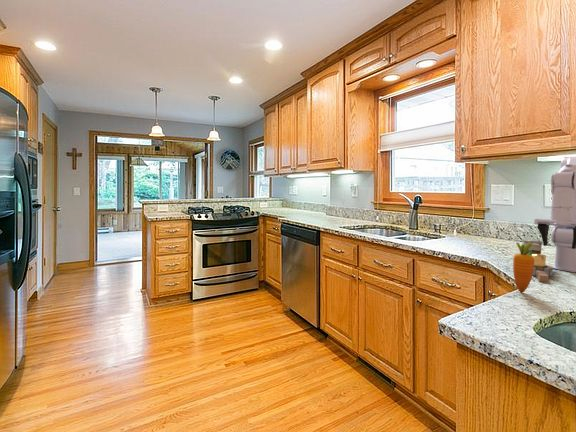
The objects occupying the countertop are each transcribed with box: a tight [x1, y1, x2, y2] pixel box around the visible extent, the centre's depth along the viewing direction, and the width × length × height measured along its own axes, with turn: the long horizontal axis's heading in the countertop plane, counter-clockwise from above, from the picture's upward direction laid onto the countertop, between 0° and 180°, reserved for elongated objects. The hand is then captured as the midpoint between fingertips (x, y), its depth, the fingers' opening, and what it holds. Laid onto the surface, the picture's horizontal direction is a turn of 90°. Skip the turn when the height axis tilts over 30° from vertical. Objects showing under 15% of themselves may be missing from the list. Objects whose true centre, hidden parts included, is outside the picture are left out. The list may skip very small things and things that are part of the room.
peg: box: [532, 253, 547, 268], centre depth 116 cm, size 4×4×7 cm
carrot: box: [512, 242, 534, 294], centre depth 95 cm, size 5×5×15 cm
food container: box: [521, 240, 543, 256], centre depth 125 cm, size 12×6×10 cm, turn 141°
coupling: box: [532, 264, 554, 284], centre depth 116 cm, size 15×16×3 cm
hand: (559, 247), depth 112 cm, fingers open, 7 cm apart
